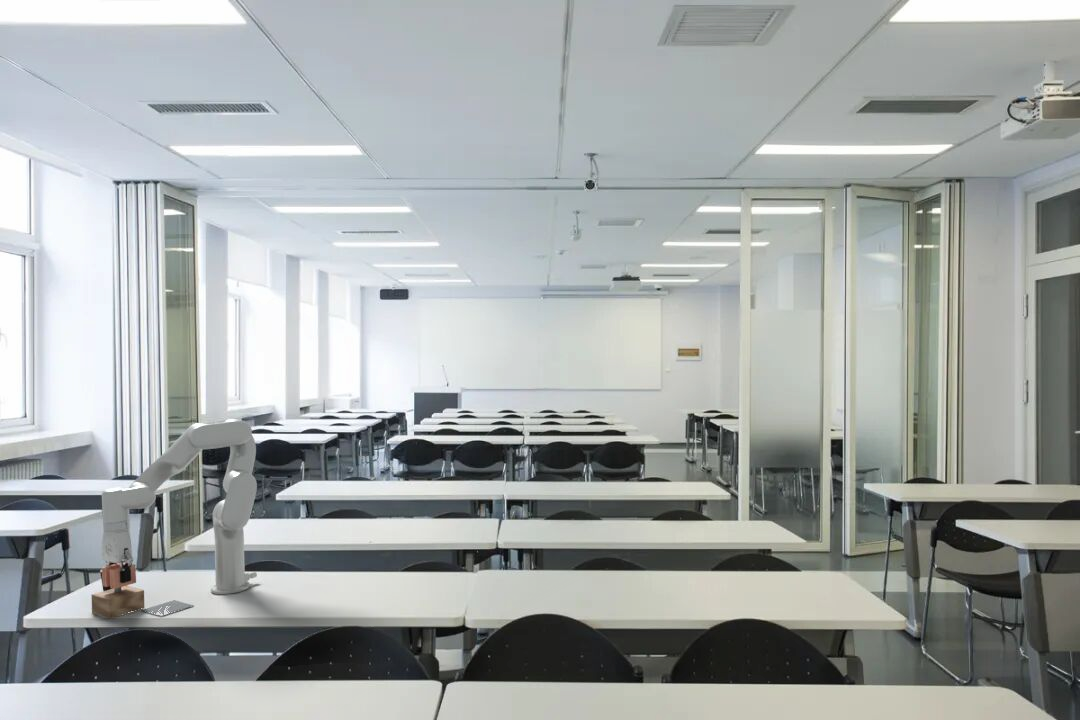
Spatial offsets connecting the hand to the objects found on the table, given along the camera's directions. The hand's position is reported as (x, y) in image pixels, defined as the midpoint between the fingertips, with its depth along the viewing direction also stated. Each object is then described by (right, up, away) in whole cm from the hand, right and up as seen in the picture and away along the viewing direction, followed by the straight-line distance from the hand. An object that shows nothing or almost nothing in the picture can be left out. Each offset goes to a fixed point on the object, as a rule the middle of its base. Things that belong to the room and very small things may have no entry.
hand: (119, 579), depth 240 cm
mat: (+16, -10, 0) cm, 18 cm away
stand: (0, -10, 0) cm, 10 cm away
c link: (0, -1, 0) cm, 1 cm away
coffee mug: (-8, -10, +15) cm, 20 cm away
